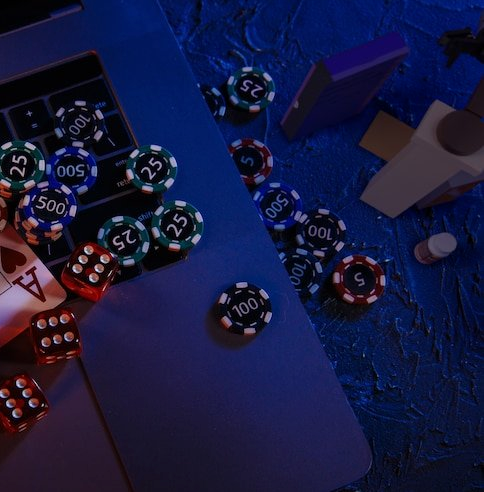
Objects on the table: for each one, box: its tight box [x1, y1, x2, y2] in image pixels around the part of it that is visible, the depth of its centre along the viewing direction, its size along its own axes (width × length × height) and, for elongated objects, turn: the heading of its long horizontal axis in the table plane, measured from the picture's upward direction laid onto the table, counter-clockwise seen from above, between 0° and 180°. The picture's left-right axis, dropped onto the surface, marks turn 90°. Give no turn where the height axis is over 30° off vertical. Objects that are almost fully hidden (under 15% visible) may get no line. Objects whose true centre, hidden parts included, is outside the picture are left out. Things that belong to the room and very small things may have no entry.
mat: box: [358, 109, 416, 163], centre depth 134 cm, size 12×10×1 cm
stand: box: [359, 99, 484, 219], centre depth 117 cm, size 12×8×30 cm, turn 56°
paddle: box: [436, 73, 484, 156], centre depth 102 cm, size 8×18×2 cm, turn 146°
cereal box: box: [279, 29, 411, 142], centre depth 125 cm, size 17×5×24 cm, turn 113°
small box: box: [415, 170, 484, 210], centre depth 125 cm, size 8×6×13 cm
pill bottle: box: [414, 232, 458, 265], centre depth 124 cm, size 5×5×8 cm
